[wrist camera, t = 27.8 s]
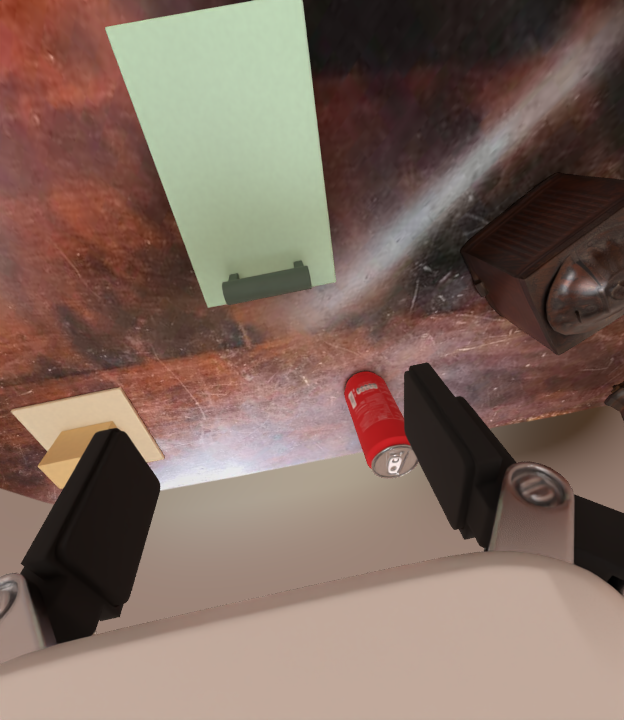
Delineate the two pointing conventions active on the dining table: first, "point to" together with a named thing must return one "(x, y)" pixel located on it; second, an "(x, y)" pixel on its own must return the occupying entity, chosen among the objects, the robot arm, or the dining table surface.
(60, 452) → the tan wooden block
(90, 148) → the dining table surface
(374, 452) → the beverage can
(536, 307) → the manual coffee grinder
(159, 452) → the placemat
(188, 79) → the lunchbox lid
